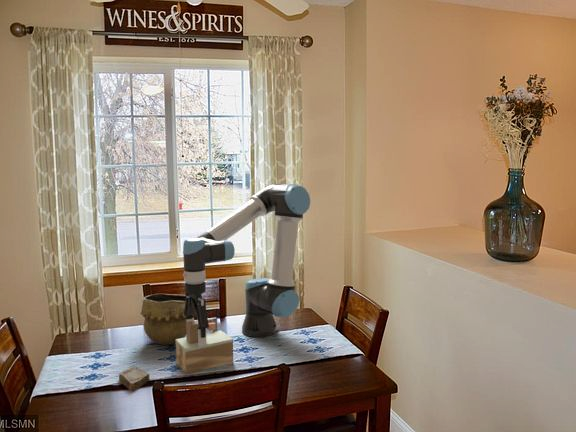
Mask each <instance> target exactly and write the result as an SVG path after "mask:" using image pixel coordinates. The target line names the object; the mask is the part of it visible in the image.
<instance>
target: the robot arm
mask: <svg viewBox="0 0 576 432" xmlns="http://www.w3.org/2000/svg"><path fill="white" fill-rule="evenodd" d="M310 206H311V197H310V193H309V192H308V191H307V189H306V188H305V187H303V186H302V185H298V184H292V183H291V184H288V183H286V184H285V183H284V184H283V183H273V184H271V185H268V186H266V187H265V188H262V189H261V190H259V191H258V192H257V193H255V194H254V195H252V196H251V197H250V198H249V201H248V202H247V203H245V204H243V205H242V206H241V207H239V208H238V209H237V210H235V211H234V212H232V213H231V214H229V215H227V216H226V217H225V218H224V219H222V220H220V221H219V222H218V223H217V224H215V225H213V226H212V227H211V228H209V229H208V230H207V231H205V232H204V233H202V234H201V235H199V236H198V235H195V236H194V235H193V236H191V237H190V238H187V239H185V240H184V241H183V246H182V247H183V249H182V256H183V274H182V277H183V279H184V284H183V287H184V293H185V294H184V295H186V300H185V309H184V316H186V319H187V322H190V321H195V315H196V319H197V320H198V325H199V327H198V328H197V329H198V345H199V347H201V346H206V333H207V328H209V324H208V318H209V317H208V312H207V306H206V305H207V302H206V299H205V298H204V299H203V297H202V295H203V294H204V293H205V292H206V291H207V290H206V284H207V283H206V279H207V278H206V264H215V263H221V262H226V261H227V262H228V261H230V260H232V259H234V256H235V246H234V245H235V244H233V242H232V241H230V240H228V239H230V238H232V236H234V235H236V233H238V232H239V231H241V230H242V229H244V228H245V227H246V226H248V225H249V224H251V223H252V222H253V221H255V220H257V218H259V217H260V216H261V217H264V216H266V215H268V214H269V213H273V212H274V217H275V218H276V220H277V225H276V232H275V242H274V251H273V259H272V268H271V276H270V278H268V277H262V278H261V277H260V278H253V279H250V280H247V281H246V282H245V289H244V292H245V316H244V319H243V322H242V326H241V332H242V334H243V335H245V336H248V337H251V338H262V337H269V336H273V335H274V333H275V332H276V331H278V325H277V323H276V320H275V317H279V318H288V317H291V316H292V315H293V314H294V313H295V312H296V311H297V309H298V307H299V305H300V297H299V295H298V293H297V292H296V291H295V289H296V284H295V282H294V281H293V276H294V275H293V274H294V264H295V257H296V256H295V255H296V247H297V239H298V230H299V229H298V228H299V223H300V222H301V221H302V220H303V219H304V215H305V213H307V212H308V210H309V209H310ZM274 316H275V317H274ZM276 333H277V332H276ZM276 333H275V334H276ZM272 334H273V335H272Z"/></svg>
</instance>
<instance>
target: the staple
mask: <svg viewBox="0 0 576 432" xmlns="http://www.w3.org/2000/svg"><path fill="white" fill-rule="evenodd" d="M208 318H209V317H208ZM208 321H213V322H214V323H216V330H212V332H215V331H218V318H217V317H210V318H209V319H208Z"/></svg>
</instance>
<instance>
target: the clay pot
mask: <svg viewBox="0 0 576 432" xmlns="http://www.w3.org/2000/svg"><path fill="white" fill-rule="evenodd" d="M185 300H186V294H174V293H173V294H171V293H170V294H169V293H155V294H150V295H146V296H144V297H143V300H142V305H141V311H140V315H142V317H143V318H144V320H143V321H144V322H143V329H144V333H145V334H146V336H147V337H148V338H149V339H150V341H152V342H153V343H155V344H158V345H163V346H166V345H167V346H168V345H173V344H176V339H180V338H185V337H187V334H186V322H187V319H186V316H184V309H185Z"/></svg>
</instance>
